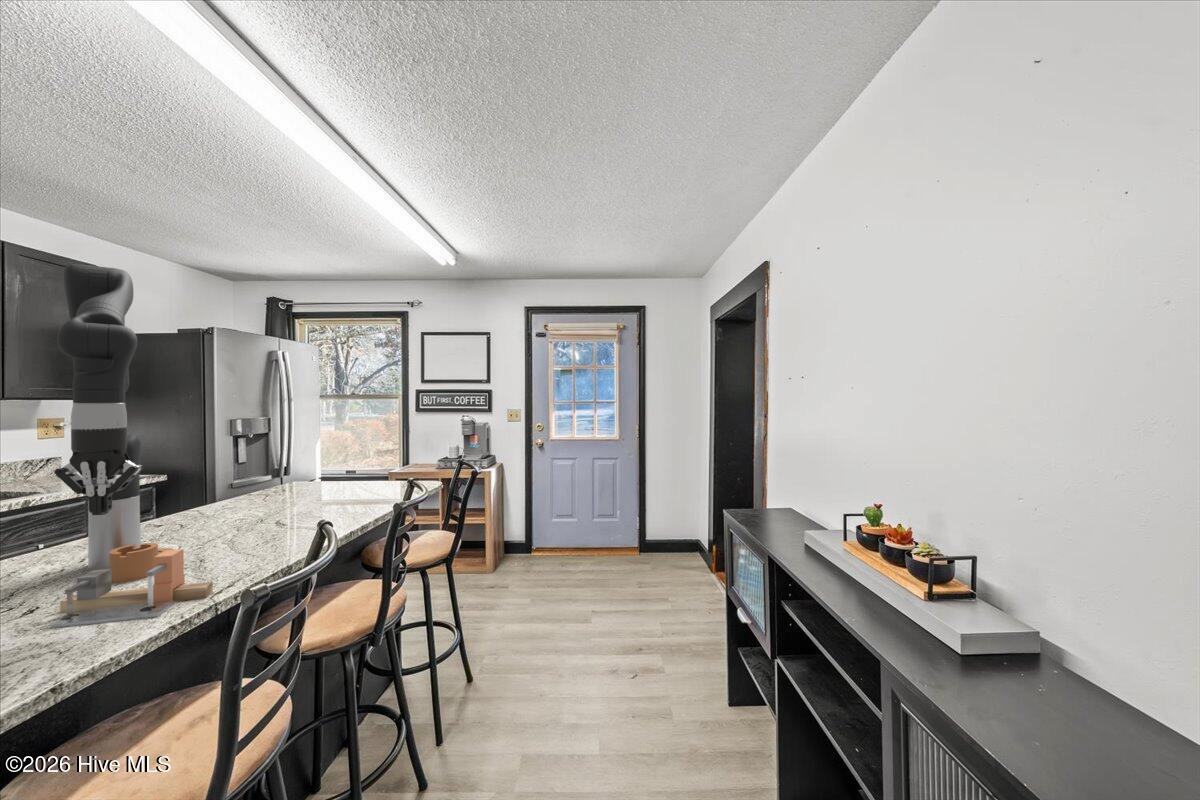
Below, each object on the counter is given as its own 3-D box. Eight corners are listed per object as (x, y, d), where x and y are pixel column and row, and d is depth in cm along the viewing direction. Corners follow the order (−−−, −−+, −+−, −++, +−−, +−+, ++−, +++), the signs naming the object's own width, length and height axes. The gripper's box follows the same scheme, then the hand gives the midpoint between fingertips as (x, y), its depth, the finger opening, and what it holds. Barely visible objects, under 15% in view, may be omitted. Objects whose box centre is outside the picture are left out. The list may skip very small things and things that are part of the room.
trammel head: (167, 595, 102) (167, 549, 102) (184, 593, 103) (184, 548, 103) (139, 614, 93) (139, 564, 93) (158, 612, 94) (158, 563, 94)
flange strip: (73, 616, 93) (73, 610, 93) (174, 605, 97) (174, 600, 97) (48, 630, 87) (48, 624, 87) (157, 618, 92) (157, 613, 92)
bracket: (149, 580, 111) (148, 551, 111) (101, 586, 108) (101, 556, 108) (179, 556, 127) (179, 531, 127) (138, 561, 124) (138, 534, 124)
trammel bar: (74, 605, 97) (74, 571, 97) (214, 591, 104) (214, 560, 104) (37, 626, 88) (37, 589, 88) (192, 609, 95) (192, 575, 95)
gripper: (153, 424, 98) (153, 507, 98) (70, 425, 94) (71, 511, 94) (130, 427, 91) (130, 516, 91) (39, 428, 87) (40, 521, 87)
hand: (100, 514), depth 92 cm, fingers closed
